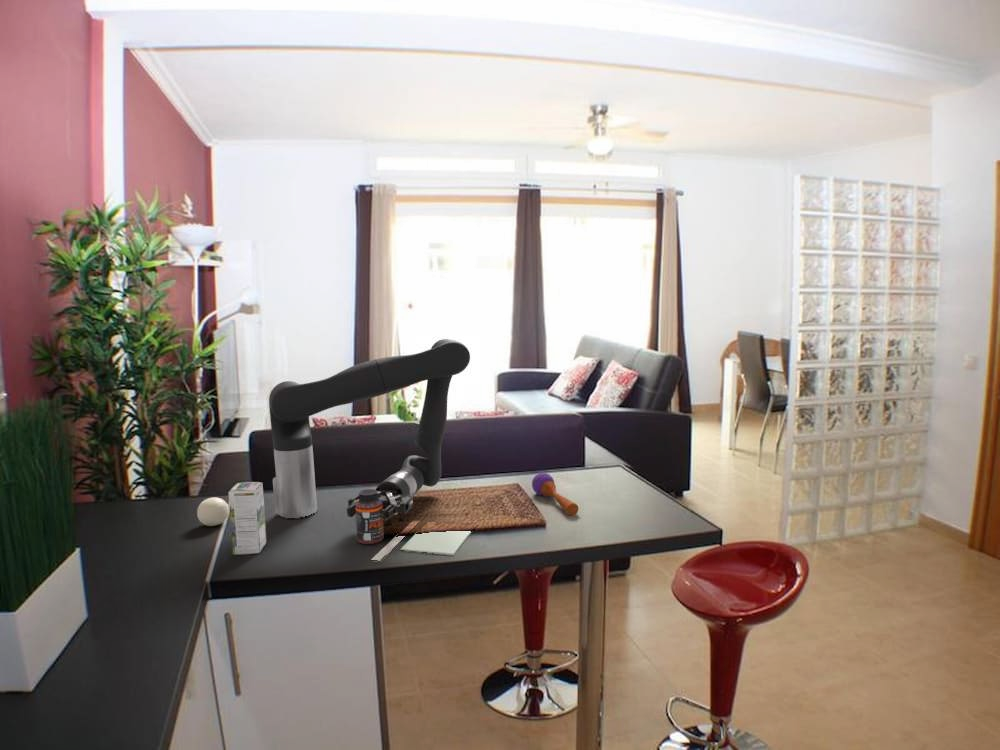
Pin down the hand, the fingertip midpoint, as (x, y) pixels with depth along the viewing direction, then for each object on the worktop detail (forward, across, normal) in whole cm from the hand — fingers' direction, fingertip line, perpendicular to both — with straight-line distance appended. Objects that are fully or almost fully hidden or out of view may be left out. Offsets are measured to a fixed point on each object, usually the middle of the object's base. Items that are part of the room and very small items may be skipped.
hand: (366, 514), depth 145 cm
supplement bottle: (-1, 0, +7) cm, 7 cm away
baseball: (-2, -42, +7) cm, 43 cm away
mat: (-5, +15, +6) cm, 17 cm away
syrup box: (+9, -24, +7) cm, 26 cm away
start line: (-2, +6, +6) cm, 9 cm away
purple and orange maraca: (-33, +36, +7) cm, 49 cm away
